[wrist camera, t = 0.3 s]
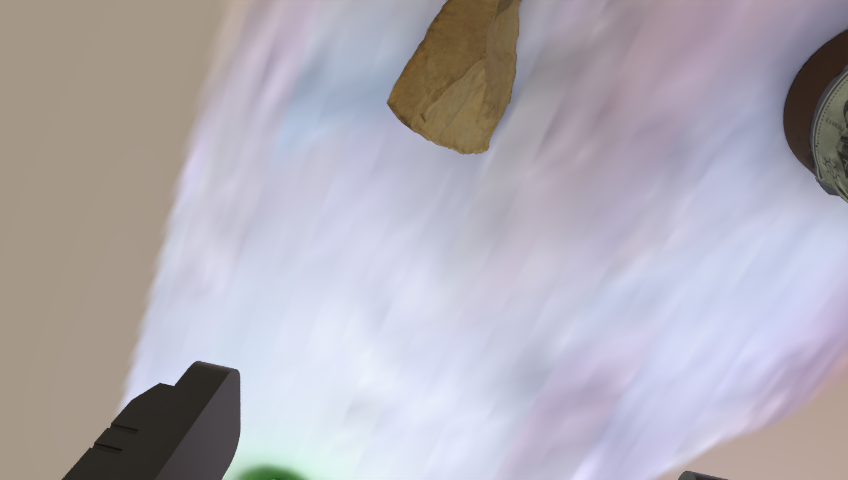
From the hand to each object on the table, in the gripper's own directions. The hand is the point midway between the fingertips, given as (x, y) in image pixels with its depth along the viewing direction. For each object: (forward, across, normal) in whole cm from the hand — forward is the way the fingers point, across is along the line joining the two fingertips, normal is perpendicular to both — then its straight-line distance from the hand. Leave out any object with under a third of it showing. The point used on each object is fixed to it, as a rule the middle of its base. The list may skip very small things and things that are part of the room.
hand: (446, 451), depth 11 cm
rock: (+29, +1, -2) cm, 30 cm away
